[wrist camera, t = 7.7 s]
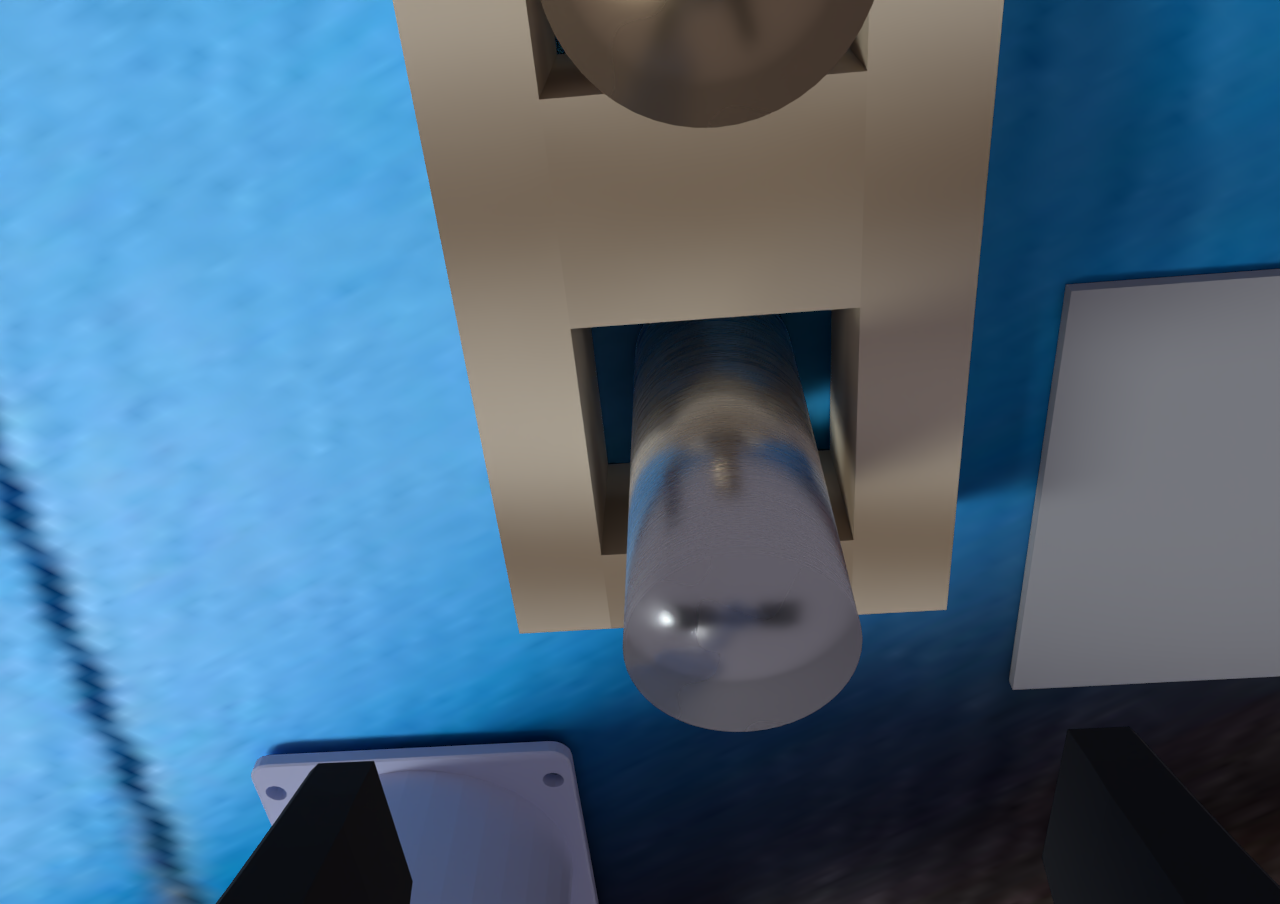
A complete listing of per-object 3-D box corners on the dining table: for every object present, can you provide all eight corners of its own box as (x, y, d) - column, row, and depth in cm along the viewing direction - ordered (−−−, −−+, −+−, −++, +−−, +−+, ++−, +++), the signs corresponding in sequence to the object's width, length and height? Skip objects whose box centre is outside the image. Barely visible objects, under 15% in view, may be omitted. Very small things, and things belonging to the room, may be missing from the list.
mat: (1317, 664, 24) (1325, 673, 23) (1008, 680, 24) (1012, 689, 24) (1466, 254, 18) (1477, 261, 18) (1065, 284, 19) (1071, 291, 18)
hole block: (912, 514, 22) (946, 610, 19) (535, 537, 22) (519, 633, 19) (981, -507, 13) (1059, -580, 10) (363, -432, 13) (295, -486, 11)
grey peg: (795, 416, 20) (864, 722, 14) (645, 432, 21) (640, 740, 14) (787, 275, 19) (859, 542, 12) (624, 294, 19) (606, 567, 12)
